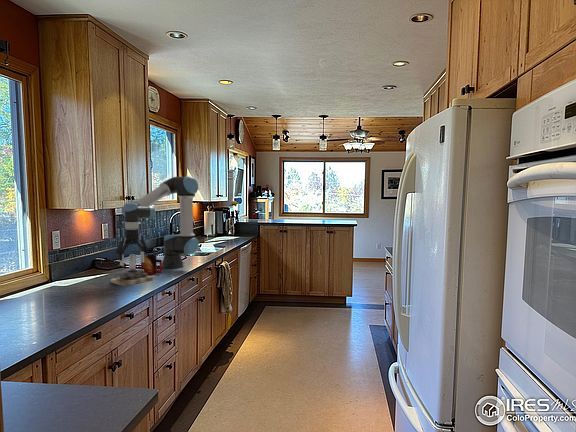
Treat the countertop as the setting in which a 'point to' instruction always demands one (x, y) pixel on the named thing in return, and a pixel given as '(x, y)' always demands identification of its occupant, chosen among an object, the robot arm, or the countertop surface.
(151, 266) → the mug
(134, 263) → the steel pin
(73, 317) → the countertop surface
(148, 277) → the chain ends
